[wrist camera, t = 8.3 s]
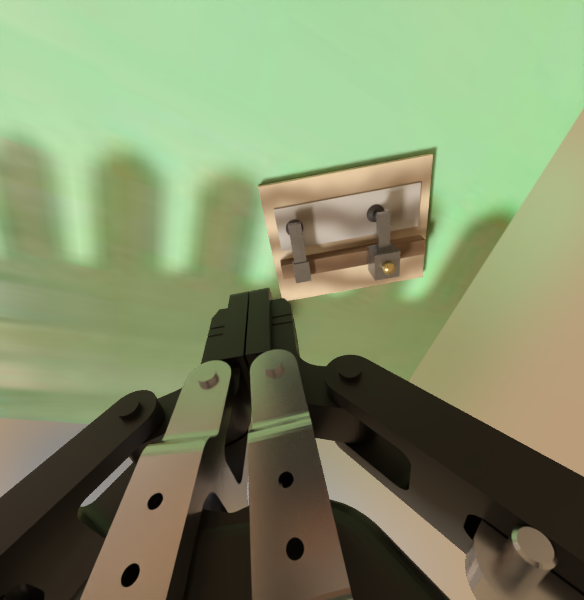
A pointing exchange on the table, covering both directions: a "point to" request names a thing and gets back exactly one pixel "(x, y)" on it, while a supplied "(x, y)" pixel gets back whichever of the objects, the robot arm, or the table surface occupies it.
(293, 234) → the bar
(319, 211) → the wooden slider puzzle board
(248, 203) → the table surface
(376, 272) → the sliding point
